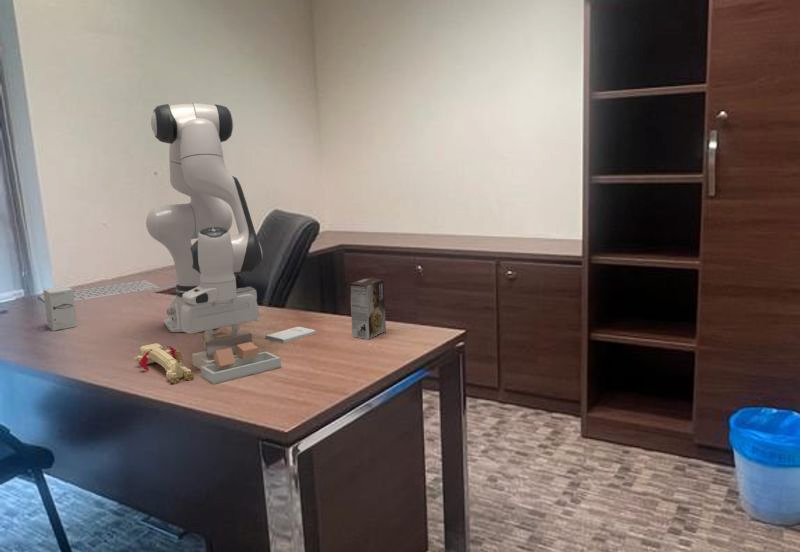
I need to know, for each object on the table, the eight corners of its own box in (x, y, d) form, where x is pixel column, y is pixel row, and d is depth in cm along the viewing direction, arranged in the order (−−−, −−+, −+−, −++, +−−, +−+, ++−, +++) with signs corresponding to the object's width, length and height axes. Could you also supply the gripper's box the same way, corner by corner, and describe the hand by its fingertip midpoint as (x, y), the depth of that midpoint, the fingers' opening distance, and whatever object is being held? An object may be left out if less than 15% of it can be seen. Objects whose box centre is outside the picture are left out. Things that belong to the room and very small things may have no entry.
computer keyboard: (47, 306, 257) (47, 302, 256) (37, 299, 271) (37, 295, 271) (162, 289, 282) (161, 285, 282) (147, 283, 297) (147, 279, 297)
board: (192, 365, 178) (191, 353, 178) (242, 353, 187) (241, 343, 186) (208, 374, 171) (207, 362, 170) (259, 361, 179) (258, 350, 178)
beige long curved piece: (202, 382, 169) (165, 353, 188) (200, 349, 167) (163, 322, 186) (162, 392, 163) (128, 360, 182) (160, 358, 161) (125, 329, 180)
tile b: (236, 353, 176) (236, 344, 175) (250, 350, 178) (250, 341, 177) (243, 359, 173) (243, 350, 172) (257, 356, 175) (258, 347, 175)
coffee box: (368, 329, 207) (366, 277, 204) (386, 332, 204) (384, 278, 201) (351, 337, 199) (348, 283, 196) (369, 339, 196) (367, 284, 193)
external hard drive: (265, 340, 201) (297, 330, 210) (283, 344, 196) (316, 334, 205) (265, 335, 201) (297, 325, 210) (283, 339, 195) (315, 329, 205)
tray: (201, 376, 169) (200, 366, 169) (267, 360, 180) (266, 351, 179) (213, 384, 163) (212, 373, 163) (281, 367, 174) (280, 357, 174)
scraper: (188, 350, 182) (187, 336, 181) (231, 341, 189) (229, 327, 189) (209, 358, 171) (207, 342, 171) (253, 348, 178) (251, 333, 178)
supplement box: (53, 331, 218) (48, 292, 215) (47, 327, 223) (42, 289, 221) (77, 327, 222) (73, 288, 220) (71, 323, 228) (67, 285, 226)
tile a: (212, 353, 171) (216, 350, 169) (227, 350, 173) (231, 347, 171) (217, 368, 170) (220, 366, 168) (232, 365, 172) (235, 362, 170)
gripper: (250, 283, 184) (254, 333, 187) (175, 295, 172) (181, 348, 175) (261, 286, 179) (265, 337, 182) (185, 299, 167) (190, 354, 170)
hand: (223, 343), depth 178 cm, fingers closed on scraper, 3 cm apart
